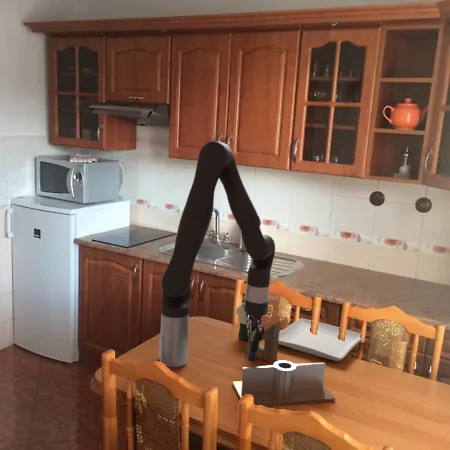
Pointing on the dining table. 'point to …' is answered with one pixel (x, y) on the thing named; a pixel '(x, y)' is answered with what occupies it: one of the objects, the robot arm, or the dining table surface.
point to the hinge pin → (251, 355)
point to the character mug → (242, 322)
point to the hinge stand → (284, 384)
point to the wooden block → (269, 344)
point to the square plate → (318, 340)
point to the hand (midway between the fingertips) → (252, 348)
